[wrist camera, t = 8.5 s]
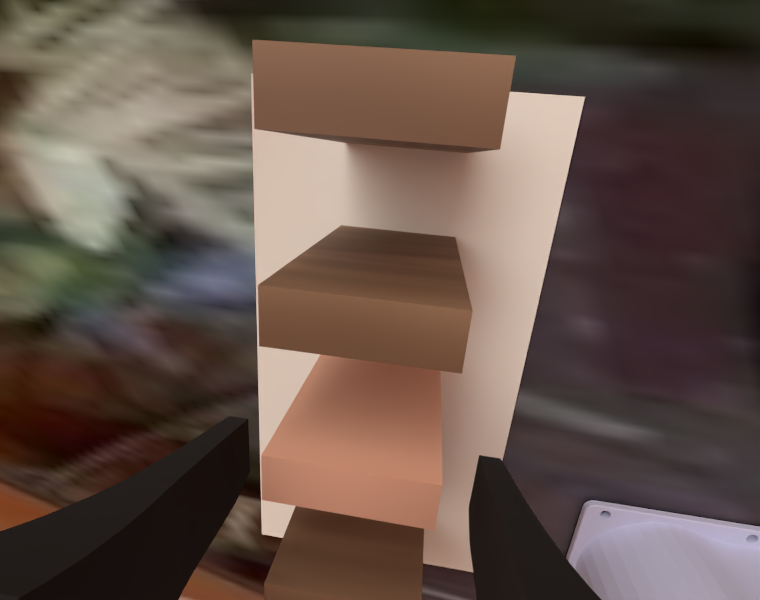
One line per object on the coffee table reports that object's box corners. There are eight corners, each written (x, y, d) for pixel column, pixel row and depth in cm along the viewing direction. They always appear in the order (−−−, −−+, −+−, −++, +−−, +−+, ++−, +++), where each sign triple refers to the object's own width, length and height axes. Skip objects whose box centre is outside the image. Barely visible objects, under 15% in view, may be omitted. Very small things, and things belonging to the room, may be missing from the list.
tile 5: (347, 100, 16) (252, 39, 8) (473, 109, 16) (515, 55, 7) (345, 143, 17) (254, 128, 8) (467, 152, 16) (499, 149, 8)
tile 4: (341, 225, 18) (257, 285, 10) (455, 236, 18) (472, 310, 9) (339, 260, 19) (259, 346, 10) (450, 272, 18) (461, 373, 10)
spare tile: (336, 327, 20) (261, 455, 11) (440, 341, 19) (442, 485, 11) (334, 357, 20) (261, 499, 12) (435, 371, 20) (434, 530, 11)
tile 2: (332, 415, 21) (264, 583, 13) (427, 430, 21) (421, 613, 13) (330, 440, 22) (265, 617, 14) (423, 455, 21) (415, 647, 13)
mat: (582, 98, 16) (585, 96, 15) (476, 567, 24) (477, 572, 24) (254, 75, 17) (250, 73, 16) (263, 530, 25) (262, 533, 25)
